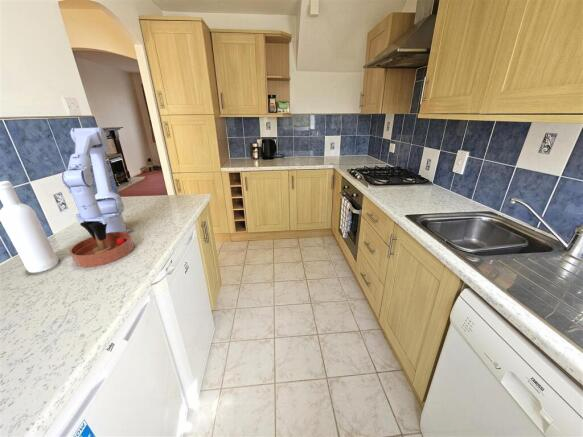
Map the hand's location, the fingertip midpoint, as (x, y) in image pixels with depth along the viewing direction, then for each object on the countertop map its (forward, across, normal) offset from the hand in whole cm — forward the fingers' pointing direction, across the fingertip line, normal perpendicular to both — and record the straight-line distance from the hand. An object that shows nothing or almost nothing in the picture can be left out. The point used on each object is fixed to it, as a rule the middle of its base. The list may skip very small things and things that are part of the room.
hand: (100, 238), depth 90 cm
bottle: (+6, -11, -14) cm, 18 cm away
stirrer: (+5, 0, -1) cm, 5 cm away
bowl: (+6, +2, -1) cm, 6 cm away
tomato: (+4, +2, +5) cm, 7 cm away
